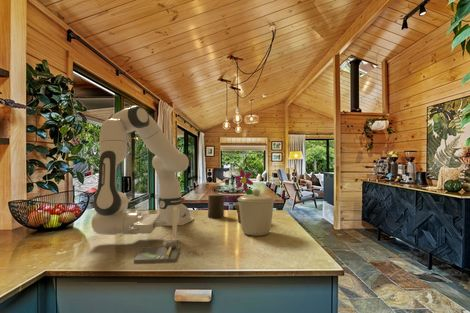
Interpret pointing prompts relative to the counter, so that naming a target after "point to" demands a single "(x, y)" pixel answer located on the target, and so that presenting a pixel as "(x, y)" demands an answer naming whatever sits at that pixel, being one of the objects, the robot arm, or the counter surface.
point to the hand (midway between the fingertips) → (167, 222)
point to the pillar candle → (215, 205)
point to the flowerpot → (245, 182)
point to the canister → (256, 213)
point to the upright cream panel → (173, 233)
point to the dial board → (156, 254)
